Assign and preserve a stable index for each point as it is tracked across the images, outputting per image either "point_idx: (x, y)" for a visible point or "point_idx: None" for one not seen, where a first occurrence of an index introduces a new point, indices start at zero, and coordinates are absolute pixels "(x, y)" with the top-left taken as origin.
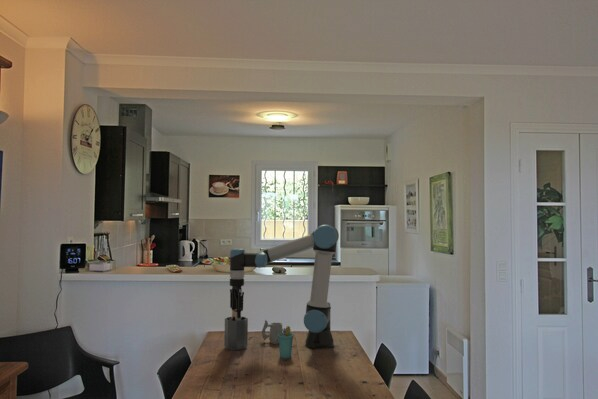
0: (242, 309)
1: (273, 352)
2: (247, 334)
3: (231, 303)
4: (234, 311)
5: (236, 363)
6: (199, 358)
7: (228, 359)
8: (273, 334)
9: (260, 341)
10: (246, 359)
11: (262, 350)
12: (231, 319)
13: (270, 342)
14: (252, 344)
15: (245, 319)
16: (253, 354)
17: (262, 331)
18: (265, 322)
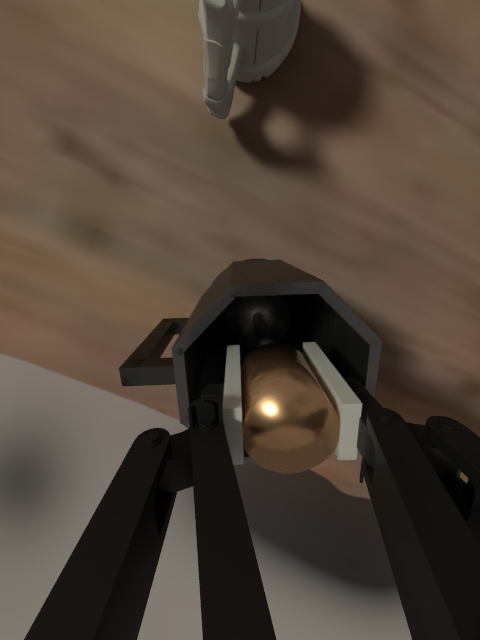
0: (466, 435)
1: (438, 171)
2: (291, 265)
3: (160, 540)
4: (318, 464)
5: (470, 387)
6: (331, 475)
7: (405, 396)
8: (280, 30)
9: (193, 133)
10: (451, 336)
11: (372, 210)
12: (192, 385)
13: (249, 82)
14: (237, 209)
15: (364, 324)
16: (406, 281)
17: (222, 103)
18: (226, 21)
